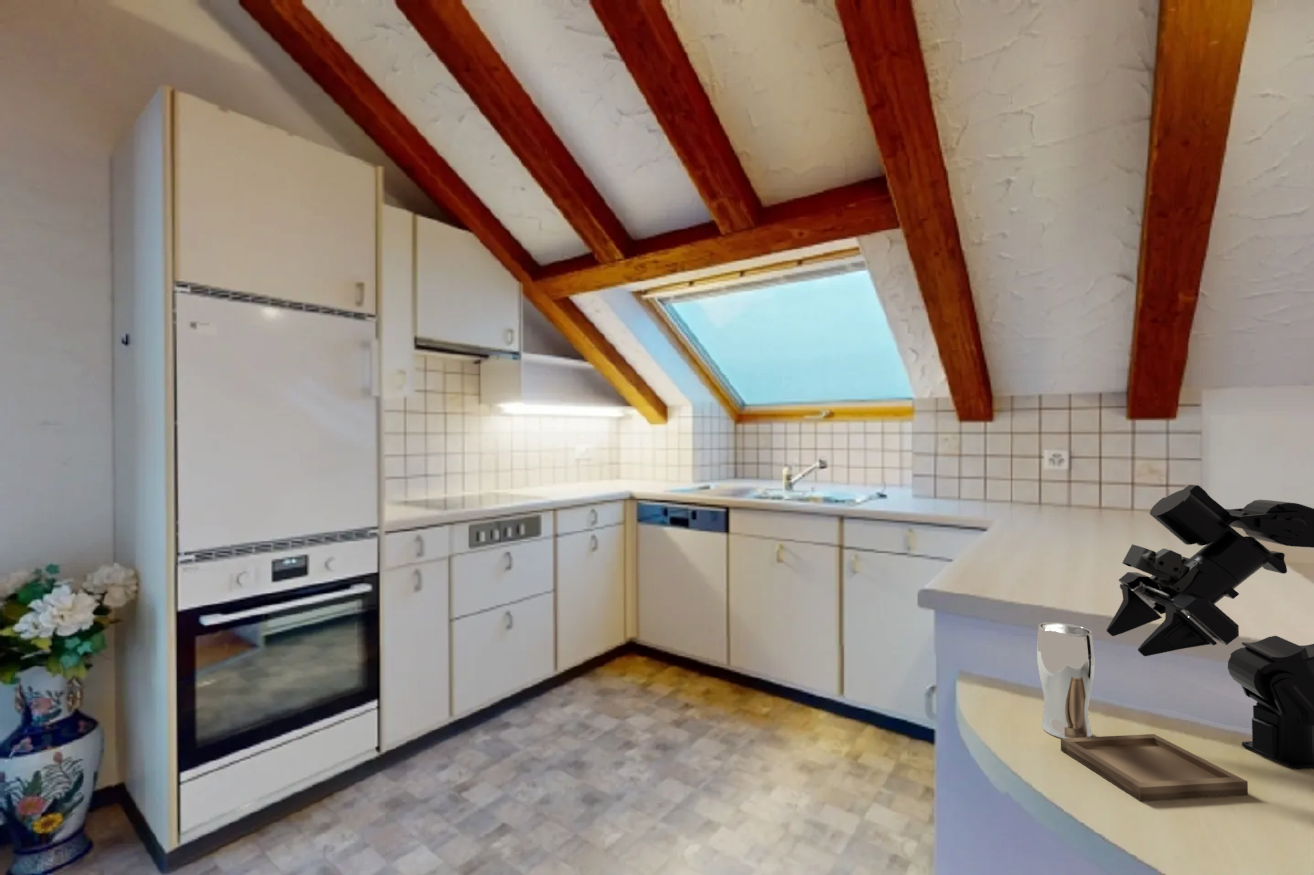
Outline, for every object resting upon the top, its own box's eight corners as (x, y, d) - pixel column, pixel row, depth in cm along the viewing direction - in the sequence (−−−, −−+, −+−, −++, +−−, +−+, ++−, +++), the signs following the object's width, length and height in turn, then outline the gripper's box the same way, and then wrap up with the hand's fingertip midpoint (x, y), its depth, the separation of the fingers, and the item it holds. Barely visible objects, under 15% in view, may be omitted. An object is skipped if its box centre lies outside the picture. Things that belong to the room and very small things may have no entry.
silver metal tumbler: (1105, 745, 83) (1104, 636, 83) (1050, 740, 84) (1048, 633, 85) (1081, 723, 90) (1079, 623, 90) (1030, 719, 91) (1028, 620, 92)
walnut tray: (1154, 745, 83) (1154, 733, 83) (1247, 794, 71) (1247, 781, 71) (1060, 750, 82) (1060, 738, 82) (1140, 801, 70) (1140, 787, 70)
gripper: (1132, 519, 93) (1053, 586, 96) (1207, 535, 75) (1107, 617, 78) (1194, 573, 91) (1111, 639, 94) (1286, 602, 73) (1180, 684, 76)
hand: (1124, 642), depth 85 cm, fingers open, 9 cm apart
